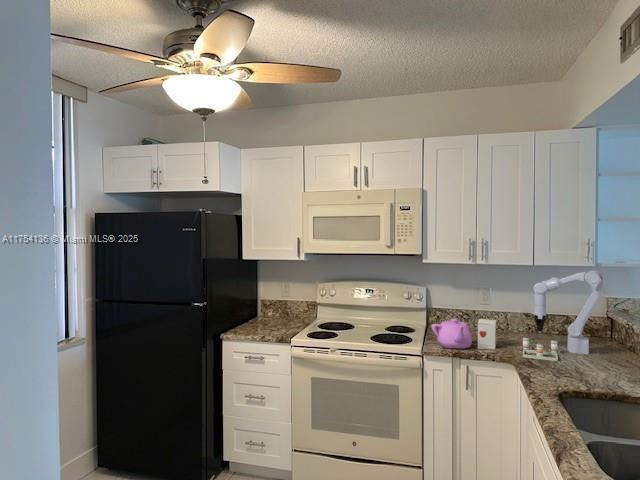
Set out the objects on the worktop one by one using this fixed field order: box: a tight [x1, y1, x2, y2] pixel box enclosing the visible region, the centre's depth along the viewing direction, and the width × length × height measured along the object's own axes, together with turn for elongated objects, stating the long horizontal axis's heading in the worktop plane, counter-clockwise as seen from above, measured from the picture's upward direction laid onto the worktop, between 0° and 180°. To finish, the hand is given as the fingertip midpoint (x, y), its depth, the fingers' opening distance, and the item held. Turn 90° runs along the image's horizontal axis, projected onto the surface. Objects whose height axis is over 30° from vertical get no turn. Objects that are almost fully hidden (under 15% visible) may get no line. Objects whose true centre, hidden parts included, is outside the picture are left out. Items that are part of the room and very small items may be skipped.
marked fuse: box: [535, 343, 544, 357], centre depth 214 cm, size 3×3×6 cm
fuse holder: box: [519, 345, 562, 356], centre depth 223 cm, size 19×6×2 cm, turn 63°
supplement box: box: [477, 318, 497, 350], centre depth 232 cm, size 9×9×15 cm
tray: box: [522, 349, 559, 362], centre depth 214 cm, size 15×11×2 cm
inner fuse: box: [550, 339, 559, 353], centre depth 220 cm, size 3×3×6 cm
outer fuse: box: [522, 337, 530, 350], centre depth 226 cm, size 3×3×6 cm
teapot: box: [431, 318, 473, 350], centre depth 233 cm, size 23×21×15 cm
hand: (539, 329), depth 232 cm, fingers open, 7 cm apart
